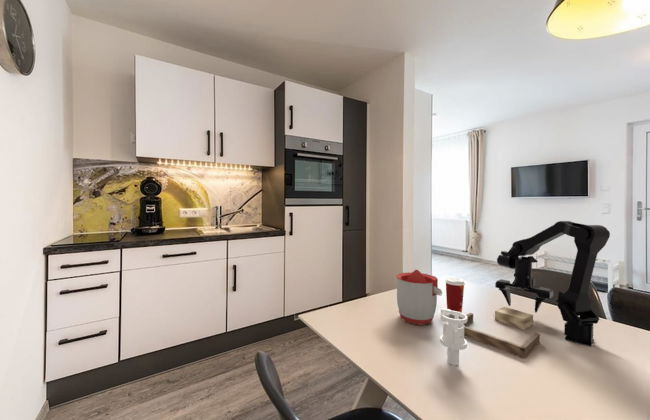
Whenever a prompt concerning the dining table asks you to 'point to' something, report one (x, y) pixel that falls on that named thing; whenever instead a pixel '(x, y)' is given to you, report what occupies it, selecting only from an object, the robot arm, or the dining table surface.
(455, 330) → the white flanged plastic holder
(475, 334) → the brown angled piece
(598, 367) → the dining table surface
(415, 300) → the citrus juicer
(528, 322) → the cream rectangular block
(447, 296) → the paper cup
